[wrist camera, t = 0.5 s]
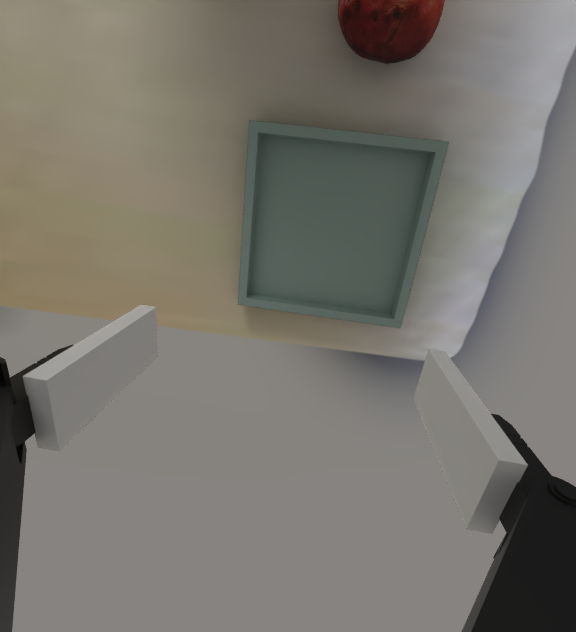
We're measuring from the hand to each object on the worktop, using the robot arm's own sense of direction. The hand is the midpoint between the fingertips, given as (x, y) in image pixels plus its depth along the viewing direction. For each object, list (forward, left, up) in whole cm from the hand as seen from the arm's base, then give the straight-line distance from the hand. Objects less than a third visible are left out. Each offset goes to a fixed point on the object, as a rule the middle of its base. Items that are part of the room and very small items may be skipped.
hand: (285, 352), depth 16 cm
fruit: (-24, +4, -26) cm, 35 cm away
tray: (-4, +2, -26) cm, 26 cm away
